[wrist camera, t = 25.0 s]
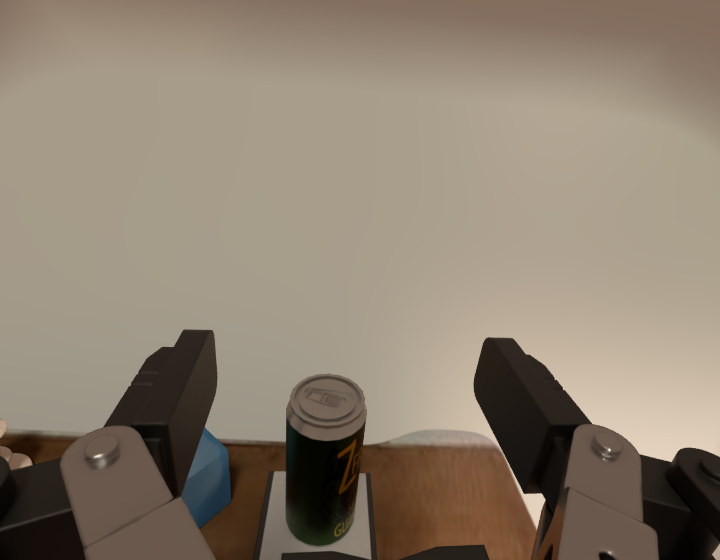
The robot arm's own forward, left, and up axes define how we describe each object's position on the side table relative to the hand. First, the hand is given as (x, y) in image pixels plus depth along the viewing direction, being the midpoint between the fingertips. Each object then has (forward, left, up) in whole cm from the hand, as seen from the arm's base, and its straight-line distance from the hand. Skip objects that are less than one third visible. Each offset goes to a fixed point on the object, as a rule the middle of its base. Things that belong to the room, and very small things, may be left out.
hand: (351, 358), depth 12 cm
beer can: (+4, +10, -23) cm, 26 cm away
